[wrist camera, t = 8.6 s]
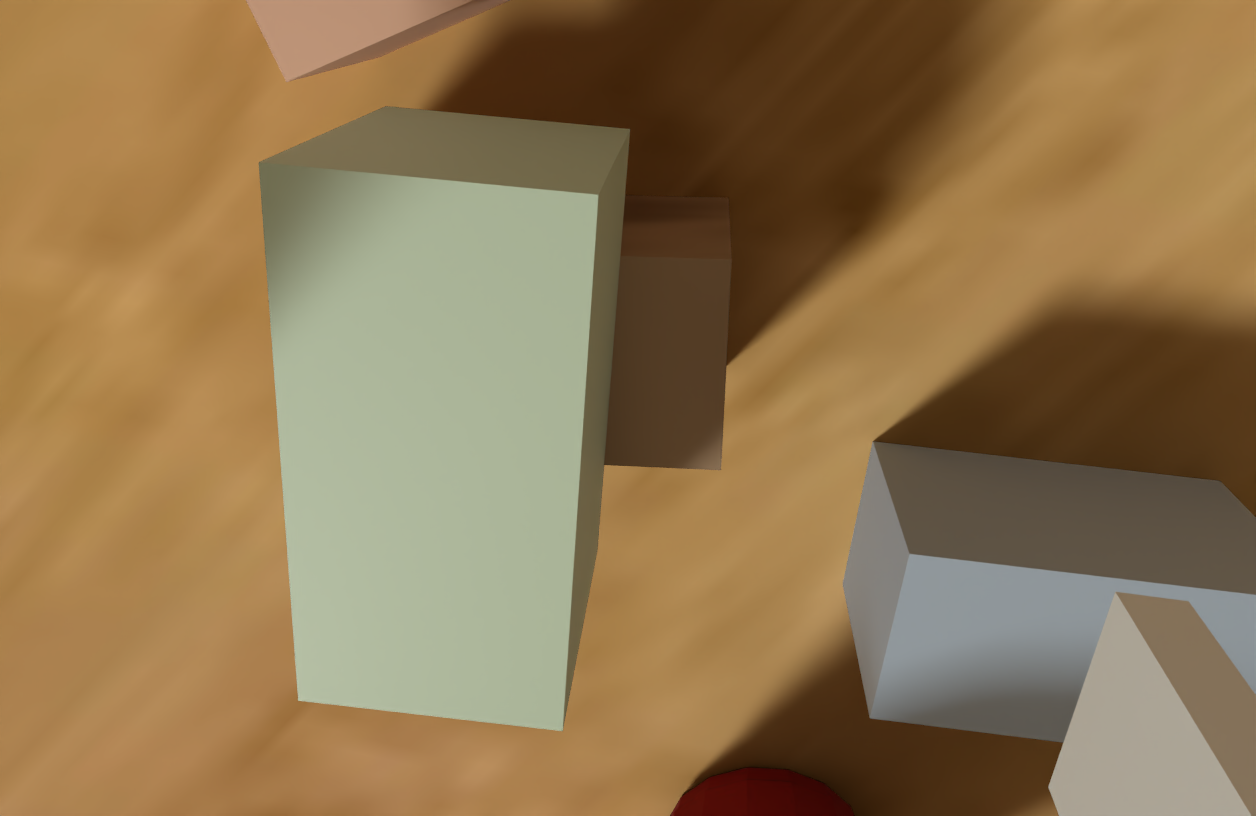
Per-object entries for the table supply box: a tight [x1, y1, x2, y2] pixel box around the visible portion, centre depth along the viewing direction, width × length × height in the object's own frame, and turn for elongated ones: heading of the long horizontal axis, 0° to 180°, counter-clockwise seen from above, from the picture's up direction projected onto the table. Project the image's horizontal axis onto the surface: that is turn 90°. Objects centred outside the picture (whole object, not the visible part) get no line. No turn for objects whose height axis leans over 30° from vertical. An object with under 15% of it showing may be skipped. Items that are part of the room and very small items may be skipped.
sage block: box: [259, 106, 630, 731], centre depth 15 cm, size 8×4×5 cm, turn 176°
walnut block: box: [604, 195, 732, 470], centre depth 20 cm, size 8×4×5 cm, turn 90°
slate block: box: [843, 441, 1256, 743], centre depth 22 cm, size 8×4×5 cm, turn 85°
